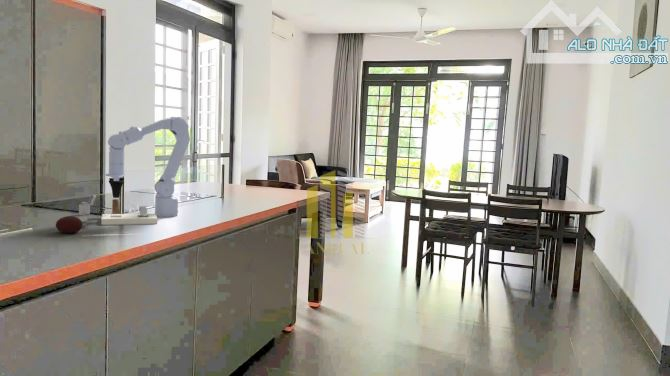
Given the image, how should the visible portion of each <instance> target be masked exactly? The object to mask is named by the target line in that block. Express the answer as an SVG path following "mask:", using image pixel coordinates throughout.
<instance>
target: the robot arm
mask: <svg viewBox="0 0 670 376" xmlns="http://www.w3.org/2000/svg"><path fill="white" fill-rule="evenodd" d="M160 130H169V131H170V132H171V133H172V134H173V136H174V137H175V139H176V141H175V144H174V146H173V149H172V151H171V154H170V156H169V159H168V161H167V164H166V167H165V169H164V171H163V173H162V174H161V176H160V177H159V179H158V180H157V182H155V184H154V186H153V187H154V191H155V192H156V194H155V196H154V200H155V201H154V214H156V216H157V217H163V218H164V217H166V218H167V217H178V214H179V209H178V207H179V202H178V200H179V199H178V197H177V196H174V195H173V194H174V193H175V185H176V176H177V174H178V171H179V168H180V166H181V164H182V161H183V158H184V155H185V153H186V151H187V149H188V146H189V143H190V132H189V124H188V122H187V121H186V120H185V118H184V117H181V116H171V117H169V118H163V119H160V120H158V121H155V122H153V123H150V124H148V125H145V126H142V127H141V128H140V127H138V126H130V127H129V129H126V130H123V131H118V133H117V134H116V133H115V134H112V135H110V136H109V138H108V140H107V144H108V146H109V148H108V149H109V152H108V173H105V177H110V178H108V183H109V185H110V188H111V193H112V197H113V199H119V198H120V195H121V192H122V191H121V190H122V188H123V187H122V186H123V185H124V182H125V181H124V179H125V147H126V146H129V145H131V144H135V143H136V142H138V141H142V140H143V138H144V136H146V135H148V134H152V133H155V132H157V131H160Z"/></svg>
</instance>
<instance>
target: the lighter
mask: <svg viewBox="0 0 670 376" xmlns="http://www.w3.org/2000/svg"><path fill="white" fill-rule="evenodd" d="M96 198H97V196H96V195H94V194H91V195H90V196H89V198H88V199H89V200H88V201H82V202H81V204H79V205H78V215H79V216H86V214H87V215H91V206H93V205H94V203H95V201H96Z"/></svg>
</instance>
